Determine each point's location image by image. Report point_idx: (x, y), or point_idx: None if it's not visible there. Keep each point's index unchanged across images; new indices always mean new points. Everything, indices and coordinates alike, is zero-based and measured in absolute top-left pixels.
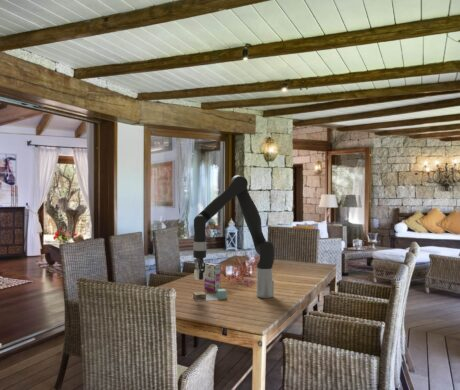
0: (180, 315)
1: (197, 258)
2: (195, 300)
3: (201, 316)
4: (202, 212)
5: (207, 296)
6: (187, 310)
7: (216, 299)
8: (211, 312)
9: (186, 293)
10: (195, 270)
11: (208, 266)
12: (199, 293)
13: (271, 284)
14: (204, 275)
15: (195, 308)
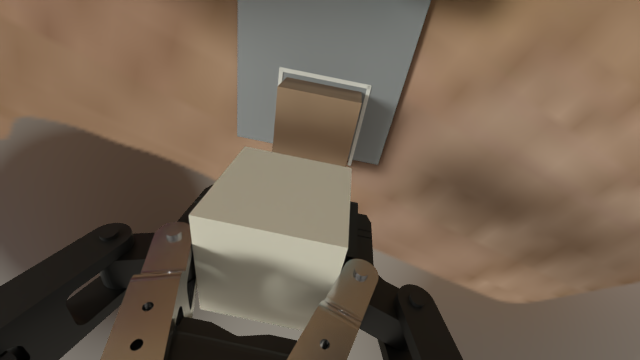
0: (501, 300)
1: None
2: (350, 164)
3: (600, 255)
4: None
5: (301, 44)
6: (465, 258)
7: (418, 19)
8: (606, 193)
9: (160, 126)
10: (242, 314)
11: None
12: (320, 138)
13: None
14: (347, 204)
15: (469, 220)
